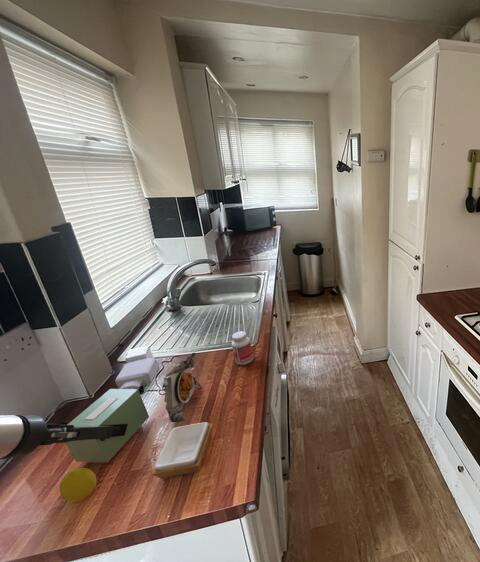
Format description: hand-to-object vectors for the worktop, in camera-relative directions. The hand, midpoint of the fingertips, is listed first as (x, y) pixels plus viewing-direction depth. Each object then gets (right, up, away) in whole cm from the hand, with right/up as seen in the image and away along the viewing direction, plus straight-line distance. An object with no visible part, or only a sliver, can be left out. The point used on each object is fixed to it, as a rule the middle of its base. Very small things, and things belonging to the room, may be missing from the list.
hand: (108, 429), depth 79 cm
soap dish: (+22, -6, -2) cm, 23 cm away
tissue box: (0, -3, +2) cm, 4 cm away
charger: (-11, +4, +24) cm, 26 cm away
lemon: (+4, -10, -11) cm, 15 cm away
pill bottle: (+21, +9, +34) cm, 41 cm away
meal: (+12, +1, +15) cm, 19 cm away
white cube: (-16, +7, +33) cm, 38 cm away
